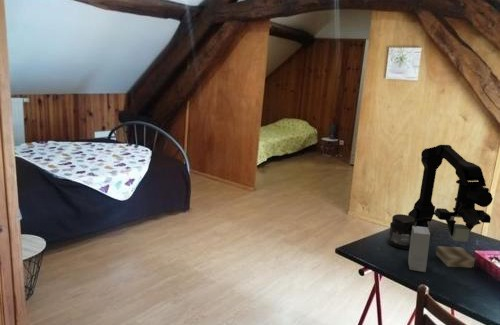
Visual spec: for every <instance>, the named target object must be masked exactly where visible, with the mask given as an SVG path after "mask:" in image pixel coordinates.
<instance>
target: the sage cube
mask: <svg viewBox="0 0 500 325" xmlns="http://www.w3.org/2000/svg"><path fill="white" fill-rule="evenodd" d="M469 231H470V229H469V228H467V227H466V226H465V224H463V223H462V224H461V223H460V224H459V223H455V224H454V231H453V236H451V235H450V232H449V231H448V237H449V238H450V239H452V241H454V242H464V243H466V242H468V240H469V235H470V233H469ZM470 232H471V231H470Z"/></svg>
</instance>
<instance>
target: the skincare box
mask: <svg viewBox="0 0 500 325" xmlns="http://www.w3.org/2000/svg"><path fill="white" fill-rule="evenodd" d="M430 232H431V231H430V230H429V226H428V227H420V226H412V232H411V241H410V248H409V249H408V250H409V251H408V258H407V264H408V268H409V270H411V271H416V272H421V273H426V272H427V264H428V263H427V262H428V257H429V256H428V255H429V248H430V240H431V233H430Z"/></svg>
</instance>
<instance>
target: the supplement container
mask: <svg viewBox="0 0 500 325" xmlns="http://www.w3.org/2000/svg"><path fill="white" fill-rule="evenodd" d="M391 220H392V221H391V222H390V224H389V227H390V228H389V232H388V239H387V240H388V243H389V245H391V246H392V247H394V248H396V249H399V250H400V249H401V250H409V248H410V241H411V232H412V226H416V223H417V220H416V219H415V218H414V217H411V216H408V214H401V213H398V214H394V215H393V216H392V219H391Z"/></svg>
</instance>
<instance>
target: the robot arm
mask: <svg viewBox="0 0 500 325" xmlns="http://www.w3.org/2000/svg"><path fill="white" fill-rule="evenodd" d="M443 159H444V160H445V161H446V162H447V163H448V164H449V165H450V166H452V167H453V168H454V170H455V171H454V172H455V175H456V176H457V178H458V179H457V180H456V181H455V183H456V184H458V188H457V193H456V197H454V201H455V205H454V207H452V211H449V210H448V209H447V208H439V207H437V208H436V206H435V205H434V203H433V201H432V198H433V193H434V188H435V187H434V186H435V180H436V174H437V169H438V168H439V167H441V165H442V164H443ZM421 164H422V166H423V167H424V168H423V171H422V172H423V174H422V179H421V186H420V193H419V198H418V200H417V201H416V202H415V203H414V205H413V209H411V210H410V211H409V212H408V214H407V215H408V216H411V217H414V218H415V219H416V220H417V223H416V226H420V227H428V228H429V224H428V223H429V222H431V221H432V220H433V218H434V216H435V217H436V218H437V219H438V220H441V221H446V224H447V228H448V233H449V232H450V235H451V236H453V231H454V224H457V221H456V220H455V218H462V222H464V223H465V224H464V225H465V226H466V227H467V228H469V229H470V231H469V234H470V233H471V231H472V229H473V228H474V227H475V226H478V225H481V223H484V224H485V223H486V224H490V223H491V216H490V214H489V213H487V212H485V210H483V209H476V205H477V206H479V207H481V208H486V207H488V206H490V205H491V204H492V201H493V195H492V193H491V192H490V189H489V188H488V187H487V184H486V179H485V176H484V173H483V171H482V168H481V166H479V165H477V163H476V164H475V163H473V162H470V161H467V160H466V159H465V158H464V157H462V156H461V155H460V153H458V152H457V151H456V150H455V149H453V147H452V146H451V145H450V144H438V145H435V146H432V147H428V148H424V149H423V150H422V151H421Z"/></svg>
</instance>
